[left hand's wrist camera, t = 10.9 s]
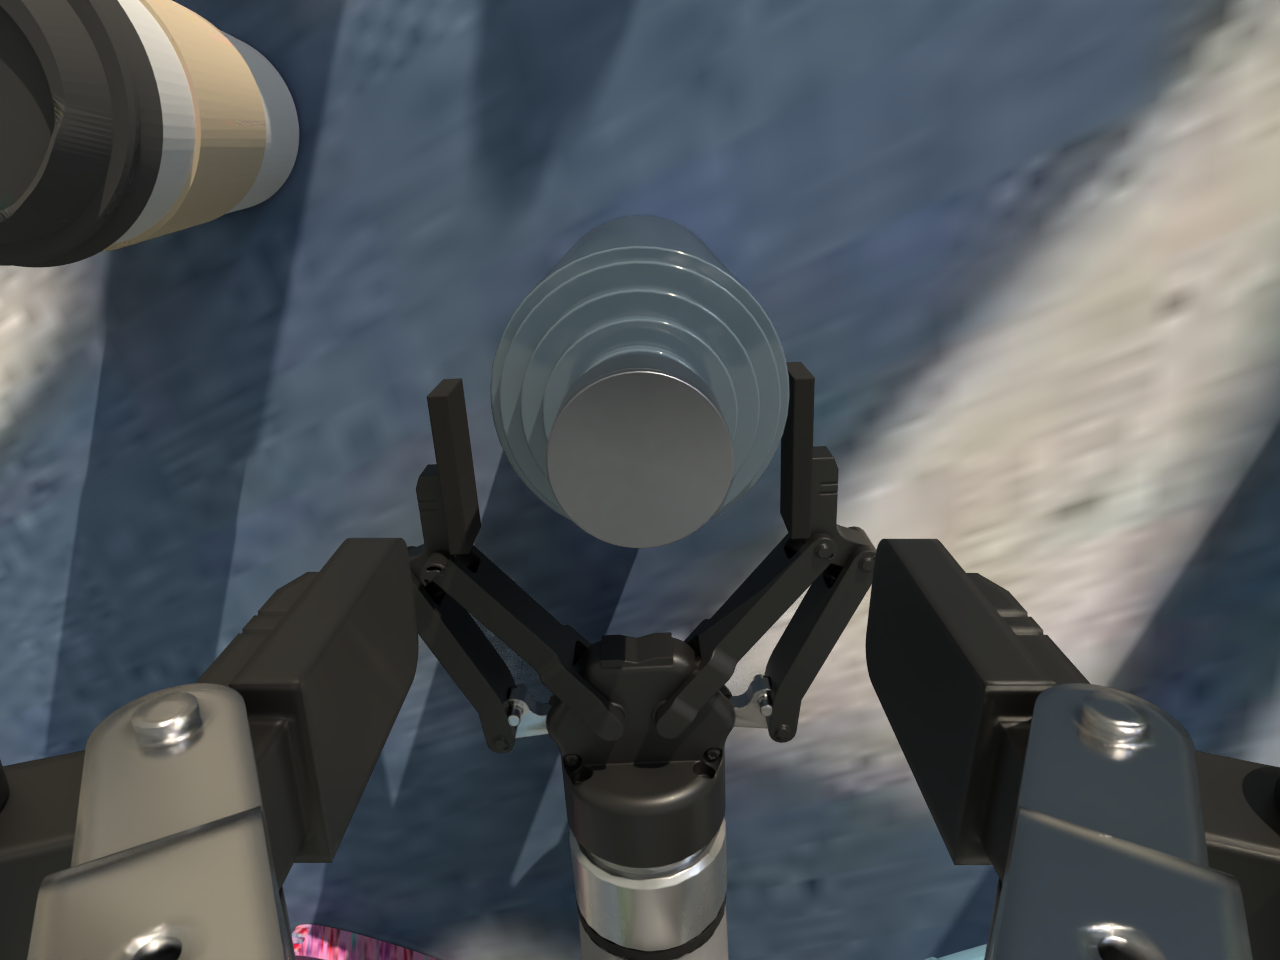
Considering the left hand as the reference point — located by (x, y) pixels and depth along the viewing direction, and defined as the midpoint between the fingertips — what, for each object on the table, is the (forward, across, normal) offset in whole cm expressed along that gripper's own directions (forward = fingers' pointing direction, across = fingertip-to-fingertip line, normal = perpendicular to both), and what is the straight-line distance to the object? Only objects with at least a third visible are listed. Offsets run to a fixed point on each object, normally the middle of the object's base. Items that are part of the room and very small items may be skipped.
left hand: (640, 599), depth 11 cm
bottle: (+27, 0, 0) cm, 27 cm away
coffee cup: (+27, +18, -8) cm, 33 cm away
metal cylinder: (+6, 0, 0) cm, 6 cm away
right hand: (+20, +1, +2) cm, 20 cm away
